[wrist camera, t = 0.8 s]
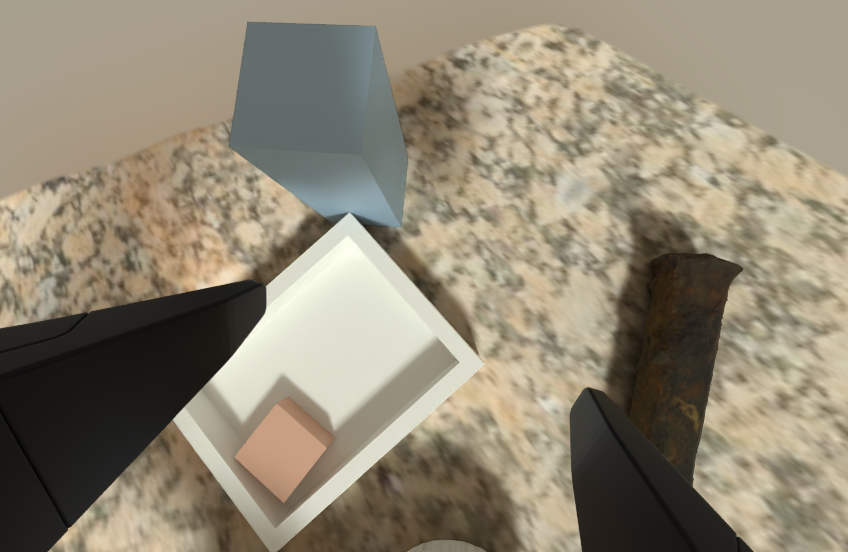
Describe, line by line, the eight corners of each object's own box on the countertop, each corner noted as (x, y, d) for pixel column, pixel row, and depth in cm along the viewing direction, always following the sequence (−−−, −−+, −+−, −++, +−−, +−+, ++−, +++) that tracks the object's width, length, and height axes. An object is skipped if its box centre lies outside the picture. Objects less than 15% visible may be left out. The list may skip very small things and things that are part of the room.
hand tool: (640, 254, 22) (692, 240, 17) (702, 270, 21) (772, 261, 17) (567, 540, 21) (602, 608, 16) (631, 563, 20) (686, 640, 16)
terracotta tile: (295, 488, 21) (283, 503, 19) (248, 446, 21) (233, 457, 19) (335, 437, 21) (326, 448, 19) (288, 396, 21) (276, 403, 20)
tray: (296, 520, 21) (272, 555, 18) (188, 378, 23) (149, 389, 20) (479, 356, 22) (484, 364, 19) (361, 224, 23) (349, 212, 20)
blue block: (401, 227, 23) (361, 154, 12) (330, 222, 23) (228, 146, 12) (408, 158, 23) (375, 26, 12) (339, 154, 24) (247, 21, 13)
